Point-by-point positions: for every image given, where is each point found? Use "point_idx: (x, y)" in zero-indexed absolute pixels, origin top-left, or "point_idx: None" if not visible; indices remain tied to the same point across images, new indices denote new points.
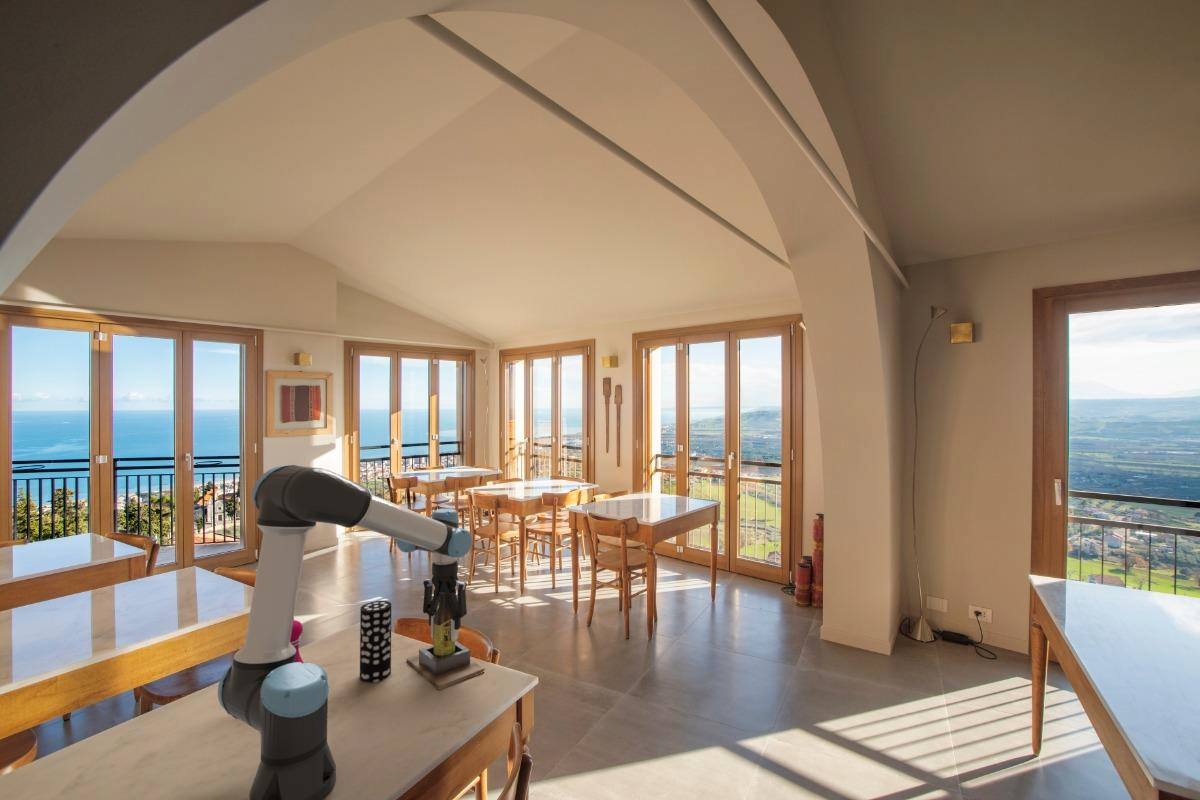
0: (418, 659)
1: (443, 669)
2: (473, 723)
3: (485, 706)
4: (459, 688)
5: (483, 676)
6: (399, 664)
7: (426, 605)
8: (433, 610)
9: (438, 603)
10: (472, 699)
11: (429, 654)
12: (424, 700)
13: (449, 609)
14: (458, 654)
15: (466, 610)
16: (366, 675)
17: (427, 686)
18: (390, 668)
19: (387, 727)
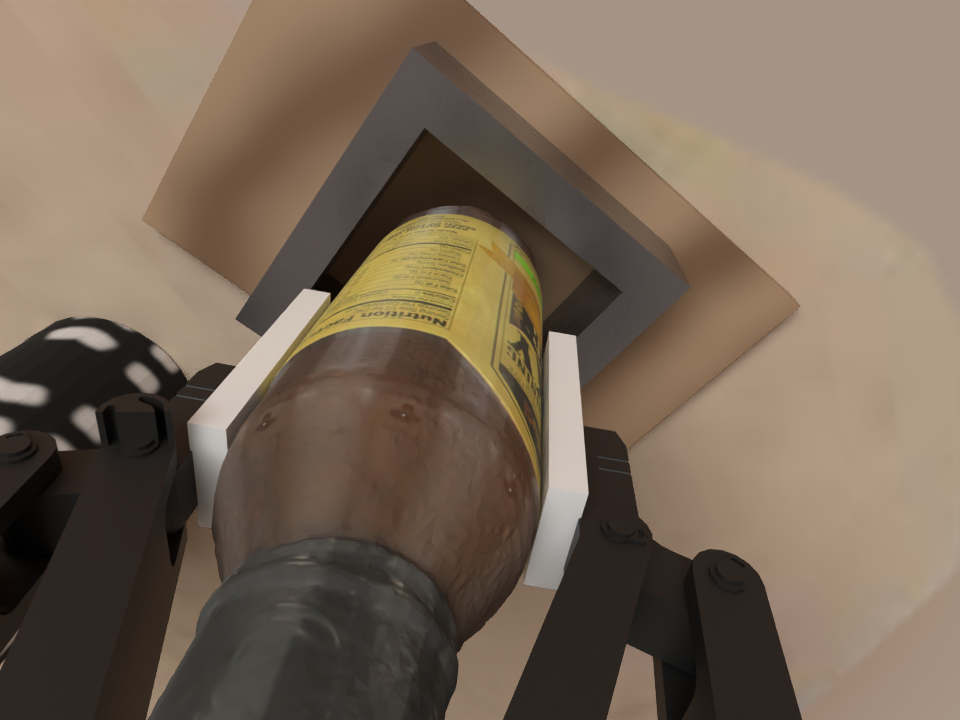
0: (238, 225)
1: None
2: (808, 687)
3: (849, 599)
4: (668, 477)
5: (795, 347)
6: (140, 255)
7: (3, 638)
8: (172, 573)
9: (139, 577)
10: (769, 556)
11: None
12: (523, 570)
13: (457, 651)
14: (605, 365)
15: (772, 623)
16: None
17: None
18: (165, 393)
19: (467, 703)
